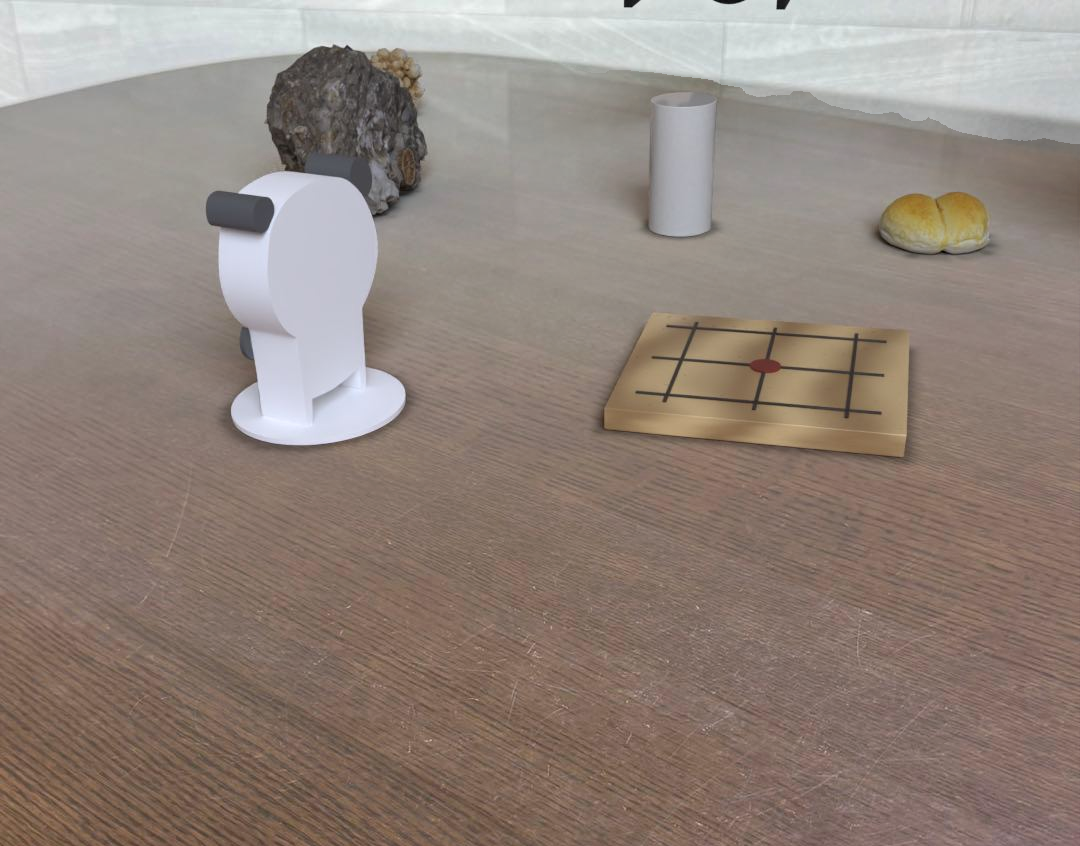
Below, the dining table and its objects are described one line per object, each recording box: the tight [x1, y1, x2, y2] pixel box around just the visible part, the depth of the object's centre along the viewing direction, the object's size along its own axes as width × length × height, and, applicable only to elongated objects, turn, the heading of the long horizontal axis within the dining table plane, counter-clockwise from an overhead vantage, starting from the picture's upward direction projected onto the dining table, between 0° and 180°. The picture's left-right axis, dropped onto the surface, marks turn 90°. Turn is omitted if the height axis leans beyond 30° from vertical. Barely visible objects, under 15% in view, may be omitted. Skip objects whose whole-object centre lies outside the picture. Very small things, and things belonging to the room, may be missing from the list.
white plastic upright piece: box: [205, 152, 407, 446], centre depth 75 cm, size 12×11×15 cm
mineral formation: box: [369, 47, 426, 111], centre depth 144 cm, size 8×13×15 cm
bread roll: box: [878, 191, 991, 255], centre depth 101 cm, size 8×9×4 cm
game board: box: [603, 311, 911, 458], centre depth 79 cm, size 18×16×2 cm
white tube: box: [647, 91, 718, 238], centre depth 105 cm, size 6×6×11 cm
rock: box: [263, 43, 429, 216], centre depth 113 cm, size 18×14×15 cm
